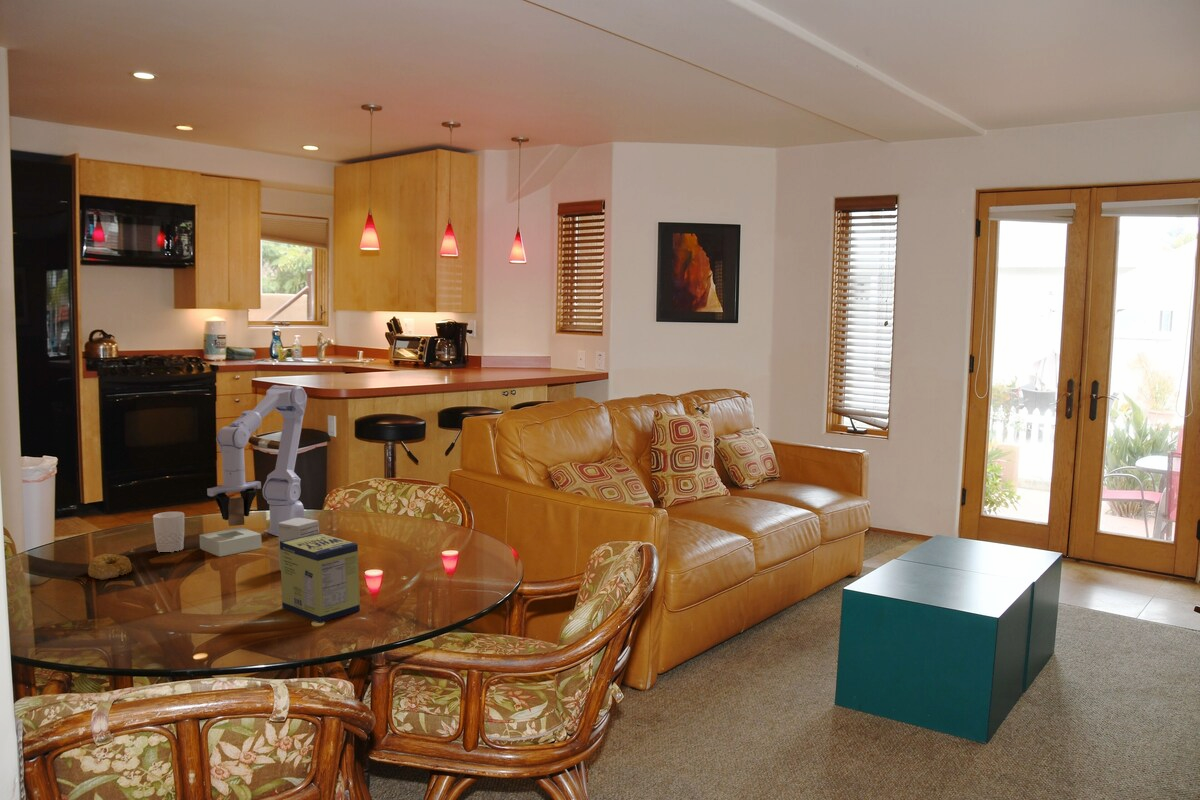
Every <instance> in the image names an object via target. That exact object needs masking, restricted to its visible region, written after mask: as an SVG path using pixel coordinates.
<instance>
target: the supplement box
mask: <svg viewBox="0 0 1200 800" xmlns="http://www.w3.org/2000/svg"><path fill="white" fill-rule="evenodd" d="M319 525H320V522H319V520H316V519H310V518H305V517H304V518H299V517H298V518H293V519H290V520H287V521H283V522H280V523H278V533H279V536H278V555H279V556H278V560H279V561H278V562H279V563H278V565H279V571H281V559H280V541H285V540H290V539H295V538H299V537H304V536H308V535H313V534H317V533H320V528H319V527H320V526H319Z"/></svg>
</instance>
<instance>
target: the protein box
mask: <svg viewBox="0 0 1200 800" xmlns="http://www.w3.org/2000/svg"><path fill="white" fill-rule="evenodd" d="M358 550H359V549H358V543H356V542H353V541H349V540H347V539H346V540H345V539H342V538H338V537H335V536H330V535H328V534H324V533H320V532H319V533H317V534H313V535H308V536H304V537H299V538H295V539H290V540H285V541H280V559H281V570H280V574H281V575H280V577H281V578H280V580H281V581H280V582H281V583H280V584H281V603H282V604H281V605H282V606H281V607H282V609H285V610H286V611H289V612H291V613H295V614H296V615H299V616H302V617H304V618H307V619H309V620H311V621H314V622H316V623H319V624H321V623H324V622H329V621H331V620H333V619H334V620H335V619H337V618H340V617H344V616H347V615H349V614H353V613H357V612H360V610H361V605H360V602H361V601H360V579H359V578H360V577H359V575H360V574H359V551H358Z"/></svg>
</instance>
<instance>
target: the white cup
mask: <svg viewBox="0 0 1200 800" xmlns="http://www.w3.org/2000/svg"><path fill="white" fill-rule="evenodd" d="M152 519H153V521H152V522H153V531H154V539H155V544H156V551H158V553H160V552H171V553H175V552H174V551H177V552H179V550H180V551H182V550H183V549H184V540H185V513H184V511H183V512H182V511H165V512H159V513H155V514H153V515H152Z"/></svg>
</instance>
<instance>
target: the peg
mask: <svg viewBox="0 0 1200 800" xmlns="http://www.w3.org/2000/svg"><path fill="white" fill-rule="evenodd" d="M228 512H229V519H228V520H227V522H228V527H234V526H235V527H236V526H244V525H245V516H244V502H243V497H241V496H240V497H230V498H229V505H228Z"/></svg>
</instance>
